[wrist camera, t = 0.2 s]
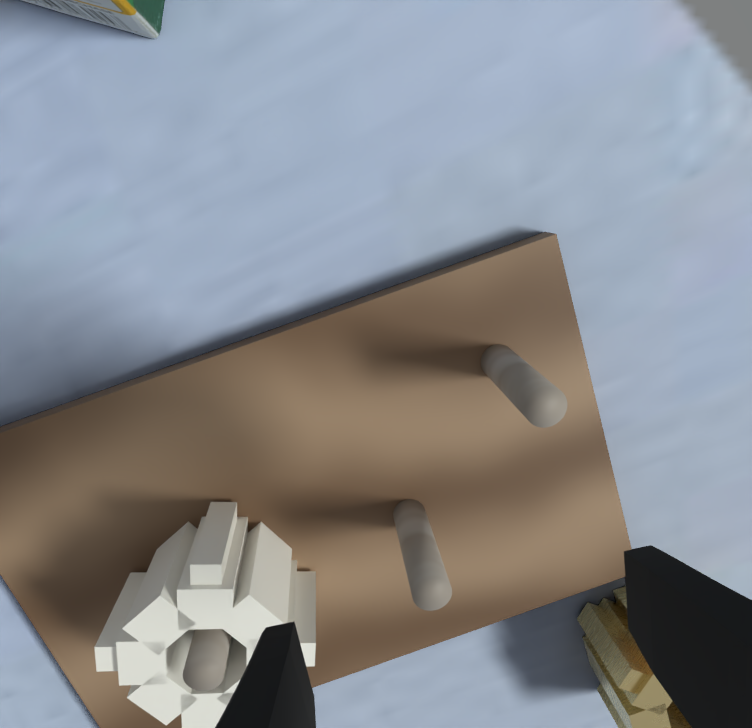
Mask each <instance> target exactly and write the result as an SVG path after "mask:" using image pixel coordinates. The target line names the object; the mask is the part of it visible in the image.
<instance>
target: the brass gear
mask: <svg viewBox="0 0 752 728" xmlns="http://www.w3.org/2000/svg"><path fill="white" fill-rule="evenodd" d="M613 592H614V596H615V600H616V602H613V601H611V600H608V599H606V598H603V599H602V601H601V602H600V604H599V605H598V606H597V605H594V604H591V603H589V602H588V603H587V604H586V606H585V607H584V609H583V610H582V612H581V613H580V615H579V616H578V618H577V620H578V622H579V623H580V625H581V627H582V628H583V630H584V632H585V633H586V636H583V637H582V638H583V642H584V645H585V649H586V652H587V656H588V659H589V663H590V665H591V667H592V669H593V670H594V672H595V674H596V676H597V677H598V679H599V681H600V685H599V686H598V688H597V690H598V692H599V694H600V695H601V697H602V699H603V701H604V703H605V704H606V706H607V708H608V710H609V711H610V713H611V715H612V717H613V719H614V720H615V722H616V724H617V726H618V728H692V727H691V726H690V724H689V723H688V722H687V720H686V719H685V717H684V716H683V715H682V713H681V712H680V710H679V709H678V708H677V706H676V705H675V704H674V702H673V701H672V699H671V698H670V697H669V695H668V694H667V692H666V691H665V690H664V688H663V687H662V685H661V684H660V682H659V681H658V680H657V678H656V677H655V675H654V674H653V672H652V670H651V669H650V667H649V665H648V663H647V662H646V660H645V658H644V656H643V655H642V653H641V651H640V649H639V647H638V646H637V644H636V642H635V640H634V638H633V636H632V635H631V633H630V631H629V629H628V617H627V599H626V586H624V587H621V588H618V589H615V590H613Z"/></svg>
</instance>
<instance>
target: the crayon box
mask: <svg viewBox="0 0 752 728" xmlns="http://www.w3.org/2000/svg"><path fill="white" fill-rule="evenodd" d="M22 1H25V2H29V3H32V4H35V5H39V6H42V7H45V8H49V9H52V10H55V11H58V12H61V13H65V14H68V15H72V16H75V17H79V18H83V19H86V20H90V21H93V22H97V23H100V24H104V25H107V26H111V27H114V28H117V29H121V30H124V31H128V32H132V33H135V34H138V35H141V36H144V37H148V38H152V39H156V38H157V37H158V36H159V33H160V30H161V23H162V16H163V9H164V2H165V0H22Z"/></svg>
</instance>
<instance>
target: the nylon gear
mask: <svg viewBox="0 0 752 728" xmlns="http://www.w3.org/2000/svg"><path fill="white" fill-rule="evenodd" d="M291 558H292V548H291V547H289V546H288V545H287V544H286V543H285V542H284V541H283V540H281V539H280V538H279V537H278V536H277V535H276V534H275V533H273V532H272V531H271V530H270V529H269V528H268V527H267V526H266V525H264V524H263V523H262V522H260V523H259V524H258V525H257V526H255V527H254V528H253V529H252V530H251V531H250V532H248V517H237V502H211V503H210V506H209V509H208V512H207V515H206V517H202V518H201V521H200V524H199V527H198V529H197V528H196V527H195V526H193V525H192V524H191V523H190V522H189V521H188V522H187V523H186V524H185V525H184V526H183V527H182V528H180V529H179V530H178V531H177V532H176V533H175V534H174V535H172V536H171V537H170V538H169V539H168V540H167V541H166V542H164V543H163V544H162V545H161V546H160V547H159V548H158V549H157V550H156V552H155V554H154V557H153V559H152V561H151V563H150V566H149V568H148V570H147V572H132V573H130V574H129V577H128V579H127V581H126V583H125V585H124V587H123V589H122V591H121V593H120V595H119V597H118V599H117V601H116V604H115V606H114V608H113V610H112V612H111V614H110V616H109V618H108V620H107V622H106V624H105V626H104V628H103V631H102V633H101V635H100V637H99V639H98V641H97V643H96V645H95V647H94V648H95V660H96V671H97V672H102V671H118V677H119V686H122V685H131V688H130V690H129V693H128V696H127V698H128V699H129V700H131V701H132V702H133V703H135V704H136V705H138V706H139V707H140V708H142V709H143V710H145V711H146V712H148V713H149V714H150V715H152V716H153V717H155V718H156V719H158V720H159V721H160V722H162V723H163V724H165V725H168V724H169V723H170V722H171V721H172V720H174V719H175V718H176V717H177V716H178V715H180V714H181V719H182V728H215V727H216V725H217V723H218V722H219V720H220V718H221V716H222V714H223V712H224V711H225V709H226V707H227V705H228V703H229V701H230V699H231V697H232V695H233V693H234V691H235V689H236V687H237V686H238V684H239V682H240V680H241V677H242V675H243V673H244V671H245V669H246V667H247V665H248V663H249V661H250V659H251V656H252V654H253V652H254V650H255V648H256V645H257V643H258V641H259V638H260V636H261V634H262V632H263V631H264V629H265V628H266V627H270V626H275V625H280V624H284V623H289V622H295V625H296V629H297V633H298V637H299V641H300V645H301V648H302V652H303V656H304V660H305V664H306V667H309V666H315V650H316V571H297V560H291ZM195 629H223V630H225V631H226V632H227V633H228V634H230V635H231V636H232V637H231V642H230V647H229V653H228V658H227V663H226V669H225V674H224V679H223V681H222V683H221V684H220V685H219V686H218V687H216V688H215V689H212V690H209V691H197V690H194V689H192V688H190V687H189V686H188V685H187V684H186V683H185V682H184V680H183V670H184V667H185V663H186V659H187V656H188V652H189V648H190V645H191V641H192V637H193V634H194V630H195Z"/></svg>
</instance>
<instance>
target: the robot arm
mask: <svg viewBox="0 0 752 728" xmlns="http://www.w3.org/2000/svg"><path fill="white" fill-rule="evenodd" d="M624 564H625V582H626V599H627V617H628V629H629V631H630V633H631V635H632V636H633V638H634V640H635V642H636V644H637V646H638V647H639V649H640V651H641V653H642V655H643V656H644V658H645V660H646V662H647V663H648V665H649V667H650V669H651V670H652V672H653V674H654V675H655V677H656V678H657V680H658V681H659V682H660V684H661V685H662V687H663V688H664V690H665V691H666V692H667V694H668V695H669V697H670V698H671V699H672V701H673V702H674V704H675V705H676V706H677V708H678V709H679V710H680V712H681V713H682V715H683V716H684V717H685V719H686V720H687V722H688V723H689V724H690V726H691V727H692V728H752V600H750V599H748V598H746V597H744V596H742V595H740V594H739V593H737V592H735V591H733V590H731V589H729V588H727V587H726V586H724V585H722V584H720V583H718V582H717V581H715V580H713V579H711V578H709V577H707V576H706V575H704V574H702V573H700V572H699V571H697V570H695V569H693V568H691V567H690V566H688V565H686V564H684V563H683V562H681V561H679V560H677V559H675V558H674V557H672V556H670V555H668V554H666V553H665V552H663V551H661V550H659V549H657V548H655V547H653V546H651V545H650V546H646V547H641V548H636V549H632V550H627V551H624ZM215 728H316V721H315V703H314V694H313V691H312V687H311V683H310V679H309V675H308V671H307V668H306V664H305V660H304V656H303V652H302V648H301V645H300V641H299V637H298V633H297V629H296V625H295V622H289V623H284V624H280V625H275V626H270V627H266V628H265V629H264V631H263V632H262V634H261V636H260V638H259V641H258V643H257V645H256V648H255V650H254V652H253V654H252V656H251V659H250V661H249V663H248V665H247V667H246V669H245V671H244V673H243V675H242V677H241V680H240V682H239V684H238V686H237V687H236V689H235V691H234V693H233V695H232V697H231V699H230V701H229V703H228V705H227V707H226V709H225V711H224V712H223V714H222V716H221V718H220V720H219V722H218V723H217V725H216V727H215Z"/></svg>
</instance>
